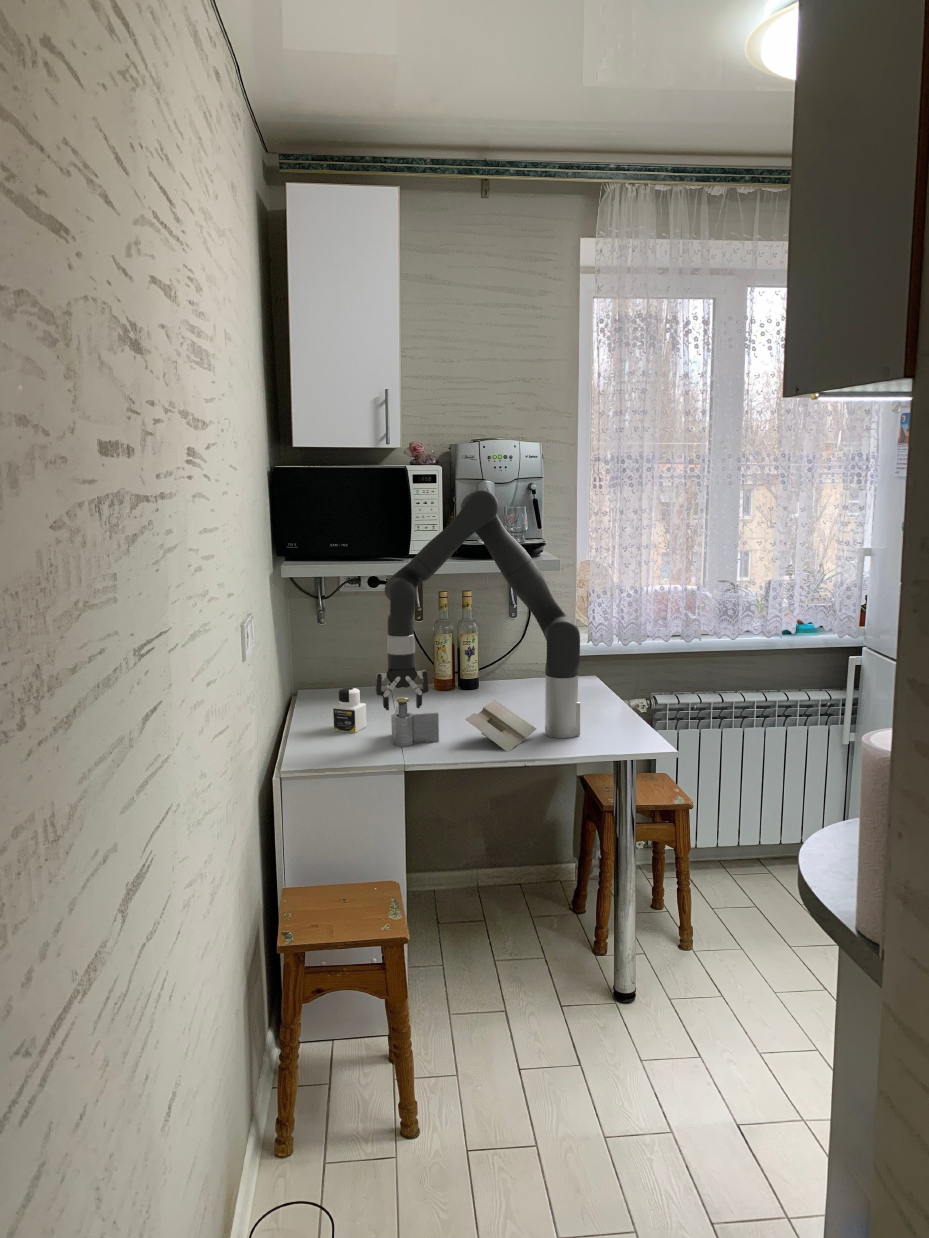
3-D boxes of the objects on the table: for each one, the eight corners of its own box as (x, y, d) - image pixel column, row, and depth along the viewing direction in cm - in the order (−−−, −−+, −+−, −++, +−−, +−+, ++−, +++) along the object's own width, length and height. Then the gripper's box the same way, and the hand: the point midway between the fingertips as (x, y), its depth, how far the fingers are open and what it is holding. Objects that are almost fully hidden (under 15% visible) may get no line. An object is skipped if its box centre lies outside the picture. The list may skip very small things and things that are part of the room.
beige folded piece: (523, 746, 262) (487, 708, 266) (538, 728, 257) (502, 690, 261) (492, 770, 250) (454, 730, 253) (507, 752, 244) (469, 711, 248)
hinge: (432, 731, 264) (431, 704, 263) (440, 743, 252) (440, 715, 250) (387, 734, 261) (387, 706, 260) (393, 747, 249) (393, 718, 248)
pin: (408, 741, 254) (407, 696, 252) (410, 744, 251) (409, 699, 249) (396, 742, 254) (395, 697, 252) (398, 745, 251) (397, 700, 248)
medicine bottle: (333, 731, 265) (332, 690, 263) (345, 724, 272) (344, 685, 270) (355, 733, 263) (354, 692, 261) (366, 726, 269) (365, 687, 267)
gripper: (424, 646, 253) (425, 703, 256) (373, 649, 250) (375, 707, 253) (429, 652, 246) (430, 710, 249) (376, 654, 243) (378, 714, 246)
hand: (402, 708), depth 251 cm, fingers open, 8 cm apart
